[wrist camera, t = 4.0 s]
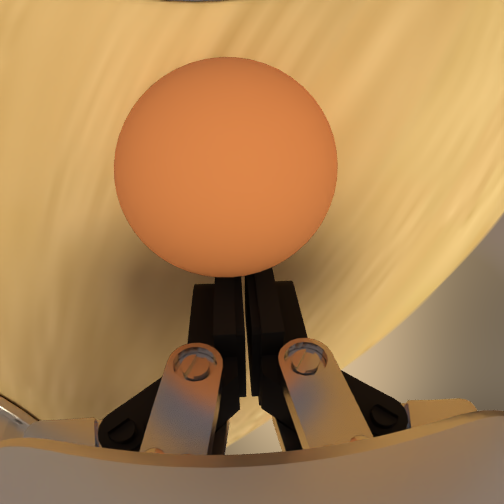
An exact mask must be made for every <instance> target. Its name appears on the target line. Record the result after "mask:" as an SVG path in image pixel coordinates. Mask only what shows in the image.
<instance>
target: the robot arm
mask: <svg viewBox="0 0 504 504" xmlns="http://www.w3.org/2000/svg"><path fill="white" fill-rule="evenodd" d="M245 317H246V330H247V343H248V356H249V369H250V381H251V393H252V396H258V398H259V405H261V408H262V409H263V410H265V411H266V412H268V413H269V414H271V415H272V420H273V424H274V427H275V430H276V433H277V436H278V440H279V442H280V446H281V449H282V452H274V453H260V454H242V455H225V450H226V443H227V436H228V429H229V419H230V418H231V417H232V416H233V415H234V414H235V413H236V412H237V411H238V410H240V402H239V397H246V360H245V327H244V312H243V297H242V283H241V276H238V277H215V284H195V285H194V289H193V297H192V306H191V315H190V325H189V335H188V344H186V345H183V346H181V347H179V348H177V349H176V350H175V351H174V352H173V353H172V354H171V355H170V357H169V359H168V361H167V364H166V367H165V370H164V373H163V376H162V377H161V378H160V379H158V380H157V381H156V382H154V383H153V384H151V385H150V386H149V387H147V388H146V389H144V390H143V391H141V392H140V393H139V394H137V395H136V396H134V397H133V398H131V399H130V400H129V401H127V402H126V403H124V404H123V405H121V406H120V407H118V408H117V409H115V410H114V411H112V412H111V413H109V414H108V415H107V416H106V417H105V418H104V419H102V420H96V419H95V418H94V417H91V418H79V419H64V420H43V421H37V420H35V419H34V418H33V417H31V416H30V415H29V414H27V413H26V412H24V411H23V410H21V409H20V408H18V407H17V406H15V405H14V404H12V403H11V402H9V401H7V400H6V399H4V398H2V397H1V396H0V504H504V411H500V410H482V411H477V410H476V407H475V406H474V405H473V404H472V403H471V402H470V401H468V400H466V399H460V398H457V399H441V400H408V401H407V403H402V404H401V403H400V402H398V401H397V400H395V399H394V398H392V397H390V396H388V395H386V394H384V393H382V392H380V391H379V390H377V389H375V388H373V387H371V386H369V385H367V384H365V383H363V382H361V381H359V380H358V379H356V378H354V377H352V376H350V375H349V374H347V373H345V372H343V371H342V370H340V368H339V366H338V364H337V362H336V360H335V358H334V356H333V354H332V352H331V351H330V350H329V348H328V347H327V346H326V345H324V344H323V343H322V342H320V341H317V340H315V339H310V338H307V334H306V330H305V326H304V322H303V318H302V314H301V311H300V307H299V303H298V299H297V295H296V292H295V288H294V284H293V282H292V281H275V280H274V275H273V270H272V267H271V268H269V269H266V270H263V271H261V272H258V273H254V274H250V275H246V276H245Z"/></svg>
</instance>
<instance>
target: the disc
mask: <svg viewBox="0 0 504 504" xmlns="http://www.w3.org/2000/svg"><path fill="white" fill-rule="evenodd" d="M168 1H192V2H195V1H222V0H168Z"/></svg>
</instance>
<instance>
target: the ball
mask: <svg viewBox="0 0 504 504" xmlns="http://www.w3.org/2000/svg"><path fill="white" fill-rule="evenodd" d="M337 167H338V164H337V151H336V146H335V141H334V137H333V134H332V131H331V128H330V125H329V123H328V121H327V119H326V117H325V115H324V113H323V111H322V109H321V108H320V106H319V105H318V104H317V102H316V101H315V99H314V98H313V97H312V96H311V95H310V94H309V93H308V91H307V90H306V89H305V88H304V87H303V86H302V85H300V84H299V83H298V82H297V81H295V80H294V79H293V78H292V77H290V76H288V75H287V74H285V73H283V72H282V71H280V70H278V69H276V68H274V67H272V66H269V65H267V64H264V63H261V62H257V61H254V60H250V59H243V58H236V57H219V58H211V59H204V60H200V61H196V62H193V63H190V64H187V65H185V66H182V67H180V68H178V69H175V70H174V71H172V72H170V73H169V74H167V75H165V76H163V77H162V78H161V79H160V80H158V81H157V82H156V83H154V84H153V85H152V86H151V87H150V88H149V89H148V90H147V91H146V92H145V93H144V94H143V95H142V96H141V97H140V98H139V100H138V101H137V102H136V104H135V105H134V106H133V108H132V109H131V111H130V113H129V115H128V116H127V118H126V120H125V122H124V125H123V127H122V130H121V132H120V135H119V138H118V142H117V146H116V151H115V160H114V179H115V186H116V192H117V196H118V199H119V202H120V205H121V208H122V210H123V213H124V215H125V217H126V219H127V221H128V222H129V224H130V226H131V227H132V229H133V230H134V232H135V233H136V234H137V236H138V237H139V238H140V239H141V240H142V242H143V243H144V244H145V245H146V246H147V247H148V248H150V249H151V250H152V251H153V252H154V253H155V254H157V255H158V256H159V257H161V258H162V259H164V260H165V261H167V262H169V263H171V264H172V265H174V266H176V267H178V268H181V269H183V270H186V271H189V272H192V273H196V274H200V275H204V276H211V277H238V276H246V275H250V274H254V273H258V272H261V271H263V270H266V269H269V268H271V267H273V266H275V265H277V264H279V263H281V262H283V261H284V260H286V259H287V258H289V257H290V256H292V255H293V254H294V253H296V252H297V251H298V250H299V249H300V248H301V247H302V246H304V245H305V244H306V243H307V242H308V240H309V239H310V238H311V237H312V236H313V235H314V233H315V232H316V231H317V229H318V228H319V226H320V225H321V223H322V222H323V220H324V218H325V216H326V214H327V212H328V210H329V207H330V205H331V202H332V199H333V196H334V192H335V186H336V181H337Z"/></svg>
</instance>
